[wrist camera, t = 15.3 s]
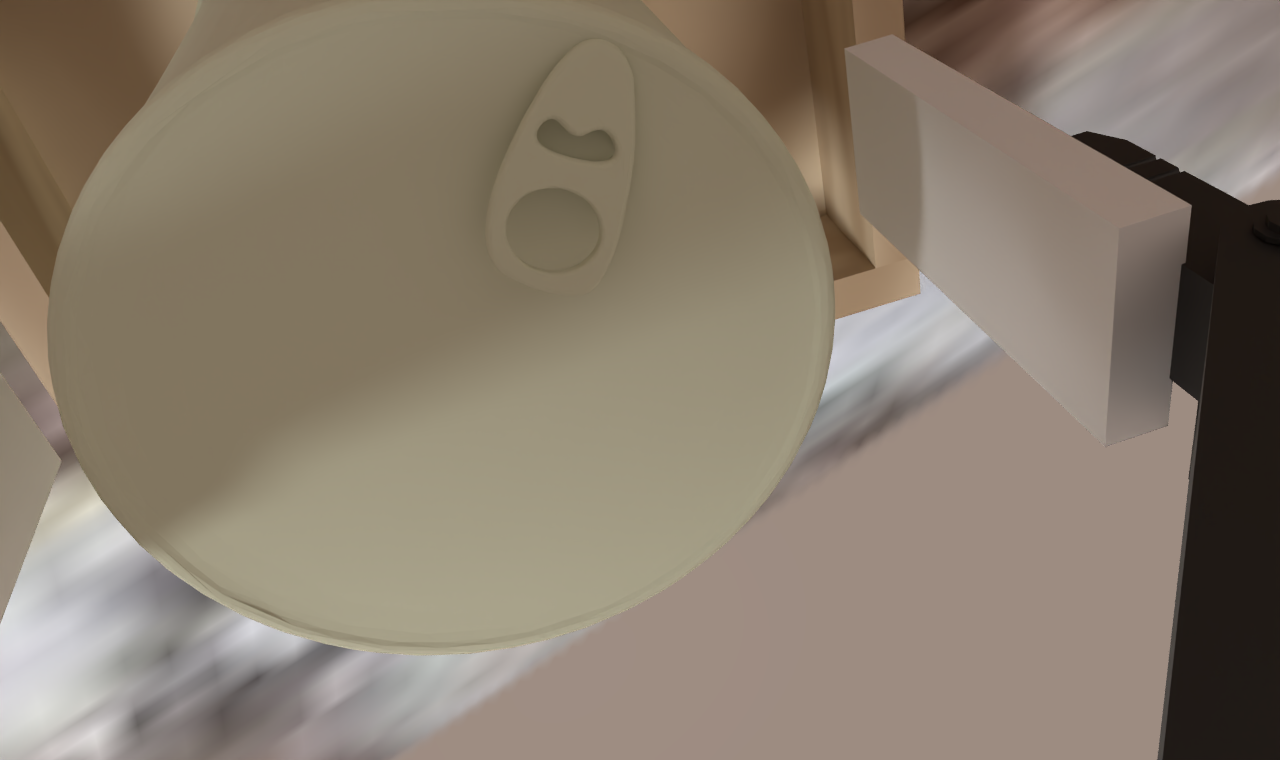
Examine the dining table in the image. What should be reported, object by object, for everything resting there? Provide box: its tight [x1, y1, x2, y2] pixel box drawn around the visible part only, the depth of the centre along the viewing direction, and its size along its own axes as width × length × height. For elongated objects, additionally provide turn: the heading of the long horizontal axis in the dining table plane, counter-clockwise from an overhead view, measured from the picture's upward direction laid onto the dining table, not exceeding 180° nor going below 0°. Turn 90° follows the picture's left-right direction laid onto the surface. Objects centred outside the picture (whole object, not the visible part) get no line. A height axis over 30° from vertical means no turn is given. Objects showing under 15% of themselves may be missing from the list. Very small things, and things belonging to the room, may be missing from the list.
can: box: [47, 0, 835, 655], centre depth 17 cm, size 9×9×12 cm
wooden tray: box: [0, 0, 920, 406], centre depth 21 cm, size 18×13×4 cm
